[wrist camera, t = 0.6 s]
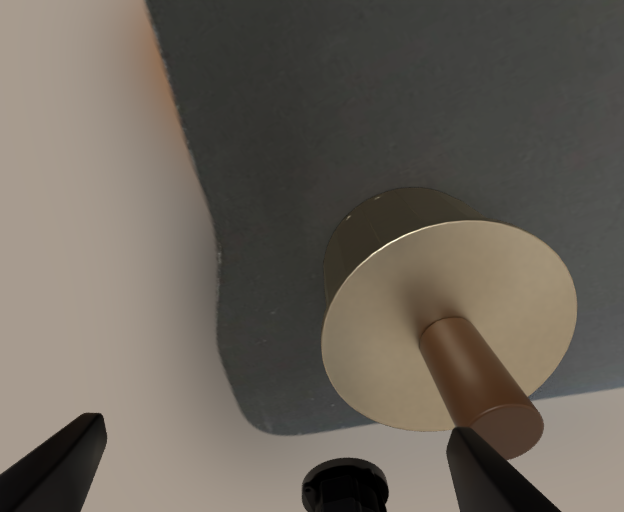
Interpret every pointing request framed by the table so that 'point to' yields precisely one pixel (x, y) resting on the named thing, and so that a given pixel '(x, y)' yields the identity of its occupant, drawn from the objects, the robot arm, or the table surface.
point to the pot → (384, 225)
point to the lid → (451, 330)
